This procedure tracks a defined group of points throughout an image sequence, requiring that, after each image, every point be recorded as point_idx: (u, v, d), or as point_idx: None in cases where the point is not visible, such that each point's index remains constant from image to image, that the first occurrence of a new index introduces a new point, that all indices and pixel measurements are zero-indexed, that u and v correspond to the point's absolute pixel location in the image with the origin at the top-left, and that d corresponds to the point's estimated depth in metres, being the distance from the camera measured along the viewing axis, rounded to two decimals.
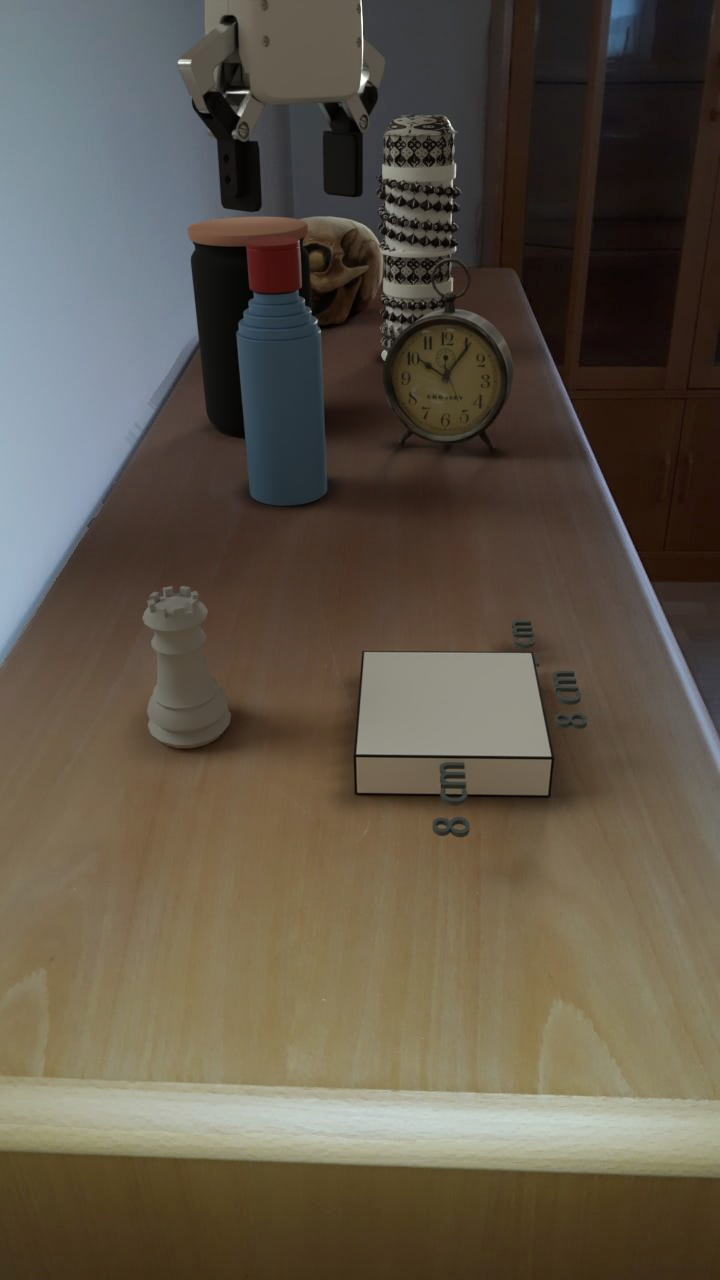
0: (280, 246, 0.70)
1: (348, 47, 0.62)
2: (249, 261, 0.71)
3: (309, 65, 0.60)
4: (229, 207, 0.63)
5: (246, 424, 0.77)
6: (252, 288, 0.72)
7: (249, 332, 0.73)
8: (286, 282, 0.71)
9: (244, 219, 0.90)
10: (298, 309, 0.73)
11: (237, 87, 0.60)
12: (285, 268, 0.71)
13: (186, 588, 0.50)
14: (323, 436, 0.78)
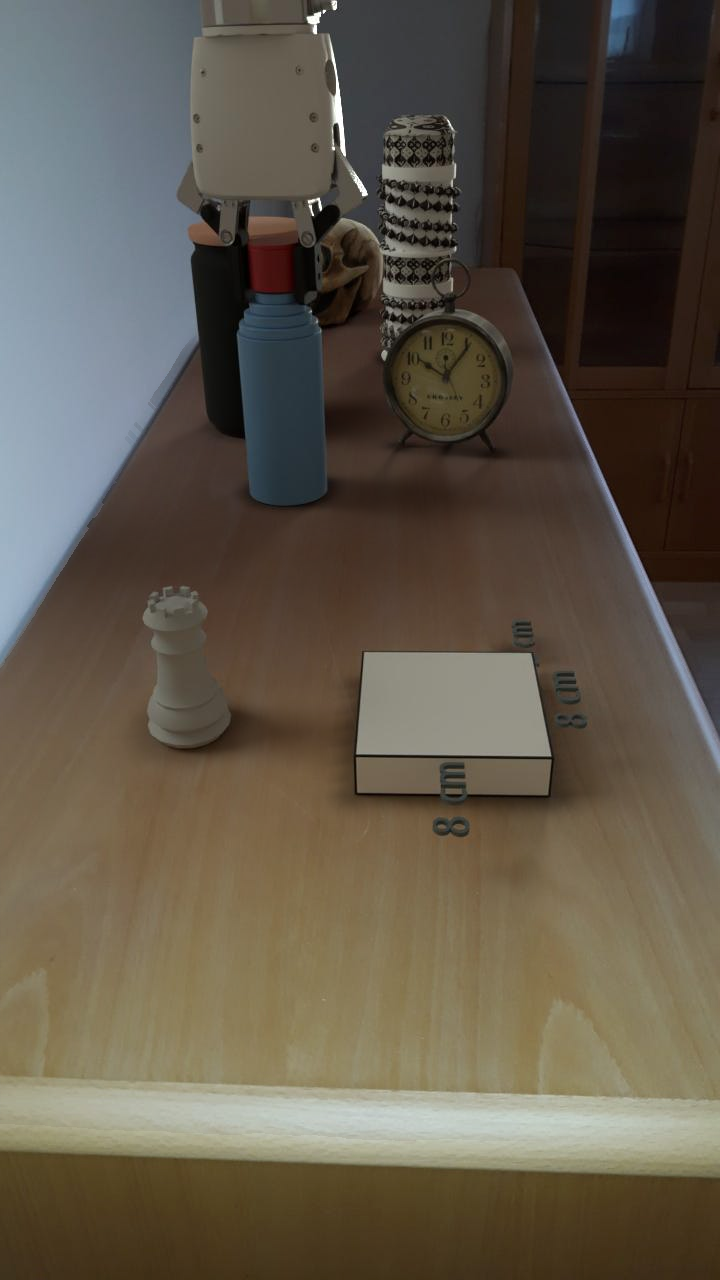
0: (281, 246, 0.70)
1: (298, 153, 0.66)
2: (250, 261, 0.71)
3: (248, 168, 0.67)
4: None
5: (246, 424, 0.77)
6: (253, 288, 0.72)
7: (249, 332, 0.73)
8: (287, 282, 0.71)
9: None
10: (299, 309, 0.73)
11: None
12: (286, 268, 0.71)
13: (186, 588, 0.50)
14: (323, 436, 0.78)
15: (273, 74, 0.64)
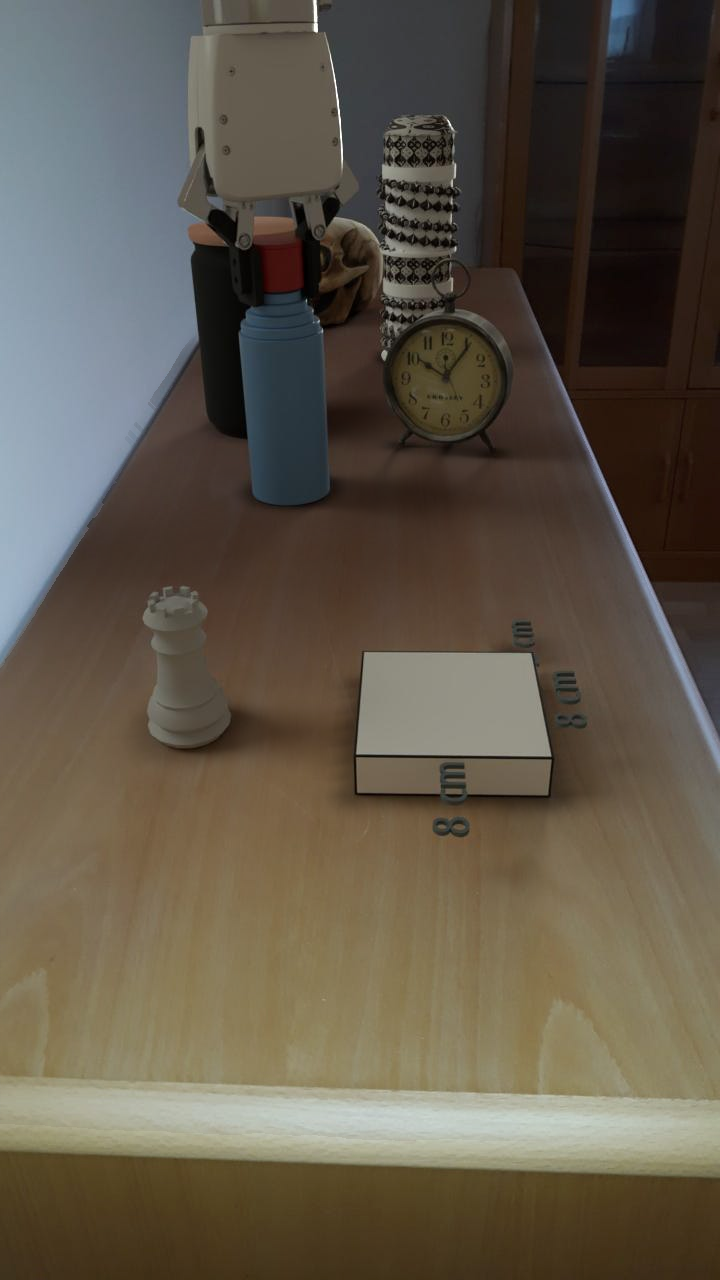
0: (298, 242, 0.71)
1: (322, 147, 0.68)
2: (266, 262, 0.70)
3: (276, 167, 0.67)
4: (242, 301, 0.73)
5: (251, 425, 0.77)
6: (270, 289, 0.71)
7: (255, 333, 0.72)
8: (302, 278, 0.72)
9: None
10: (302, 308, 0.73)
11: (230, 200, 0.69)
12: (301, 264, 0.72)
13: (186, 588, 0.50)
14: (326, 434, 0.79)
15: (301, 71, 0.65)
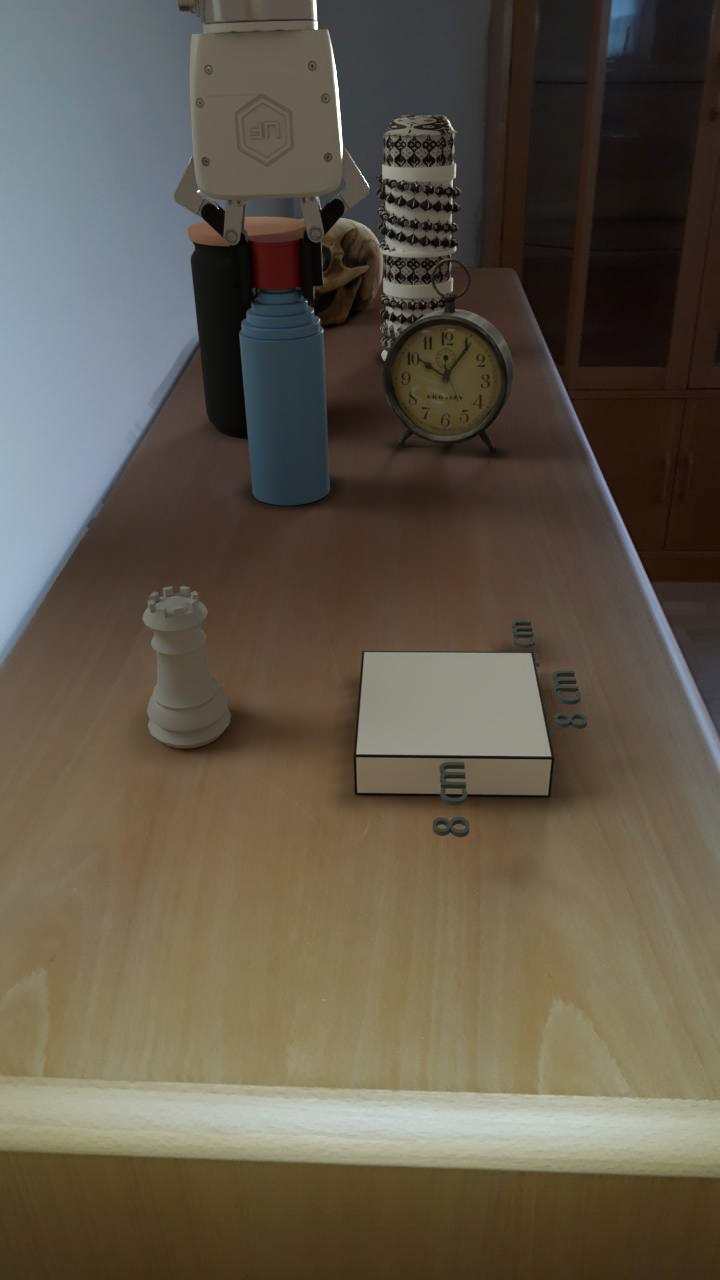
0: (262, 235, 0.73)
1: None
2: None
3: None
4: None
5: (251, 425, 0.77)
6: None
7: (255, 333, 0.72)
8: None
9: None
10: (303, 308, 0.73)
11: None
12: None
13: (186, 588, 0.50)
14: (327, 434, 0.79)
15: None
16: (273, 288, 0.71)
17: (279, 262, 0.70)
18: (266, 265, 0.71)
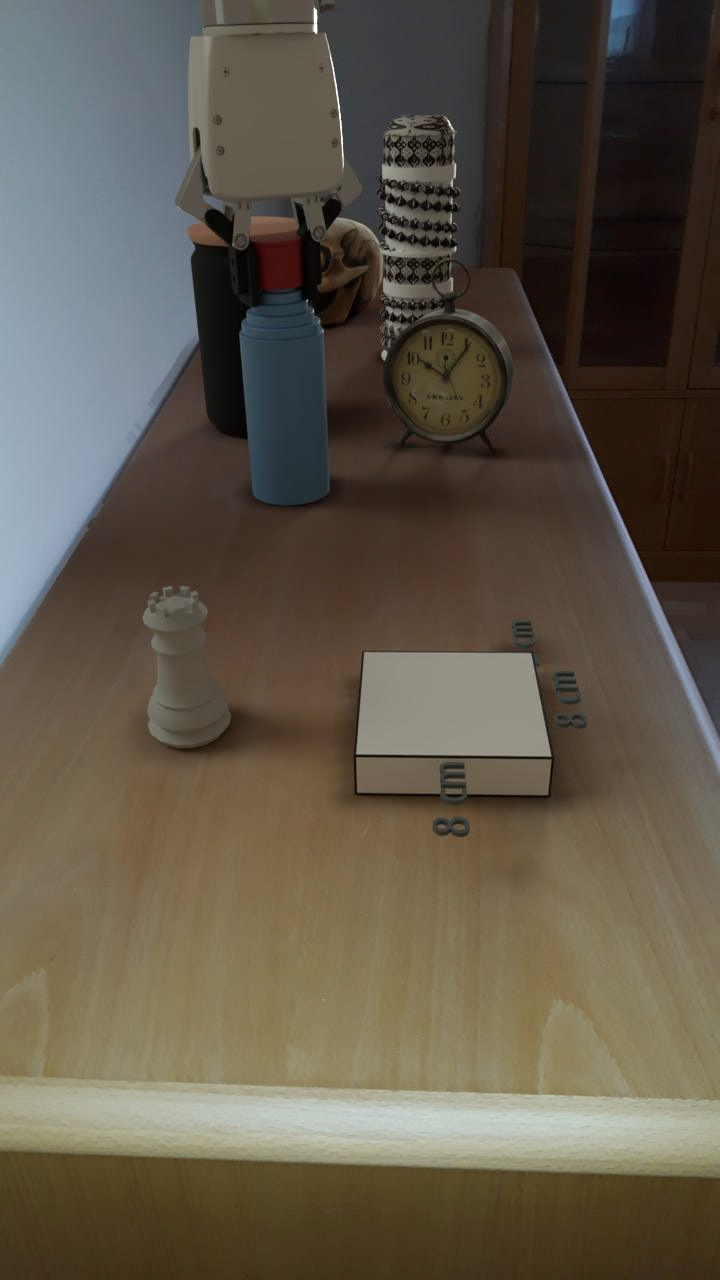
0: (296, 240, 0.70)
1: (320, 148, 0.68)
2: (262, 260, 0.70)
3: (271, 167, 0.67)
4: (242, 300, 0.73)
5: (251, 425, 0.77)
6: (266, 287, 0.71)
7: (256, 333, 0.72)
8: (300, 276, 0.72)
9: None
10: (303, 308, 0.73)
11: None
12: (299, 262, 0.71)
13: (186, 588, 0.50)
14: (327, 434, 0.79)
15: (299, 72, 0.65)
16: None
17: None
18: None
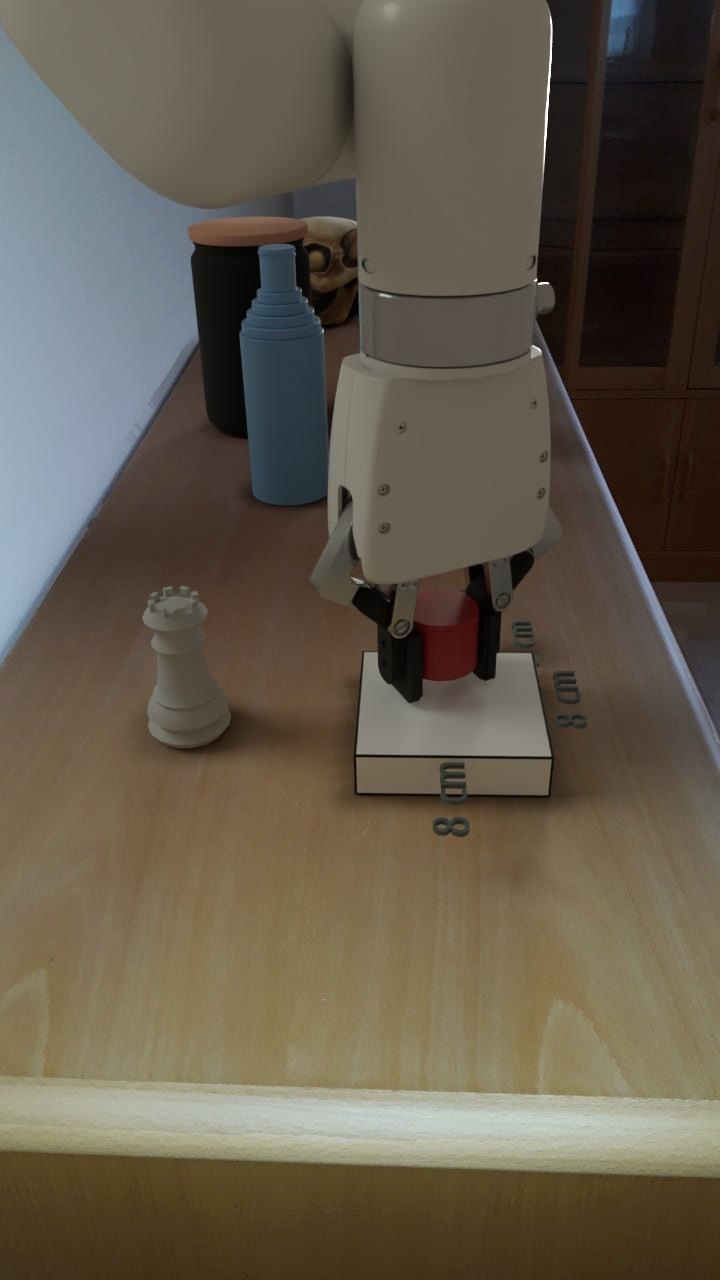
0: (475, 617, 0.49)
1: (522, 504, 0.46)
2: (427, 645, 0.49)
3: (454, 538, 0.45)
4: None
5: (251, 425, 0.77)
6: (430, 677, 0.50)
7: (256, 333, 0.72)
8: (476, 656, 0.50)
9: (244, 219, 0.90)
10: (303, 308, 0.73)
11: None
12: (476, 640, 0.50)
13: (186, 588, 0.50)
14: (327, 434, 0.79)
15: (504, 414, 0.43)
16: None
17: None
18: None
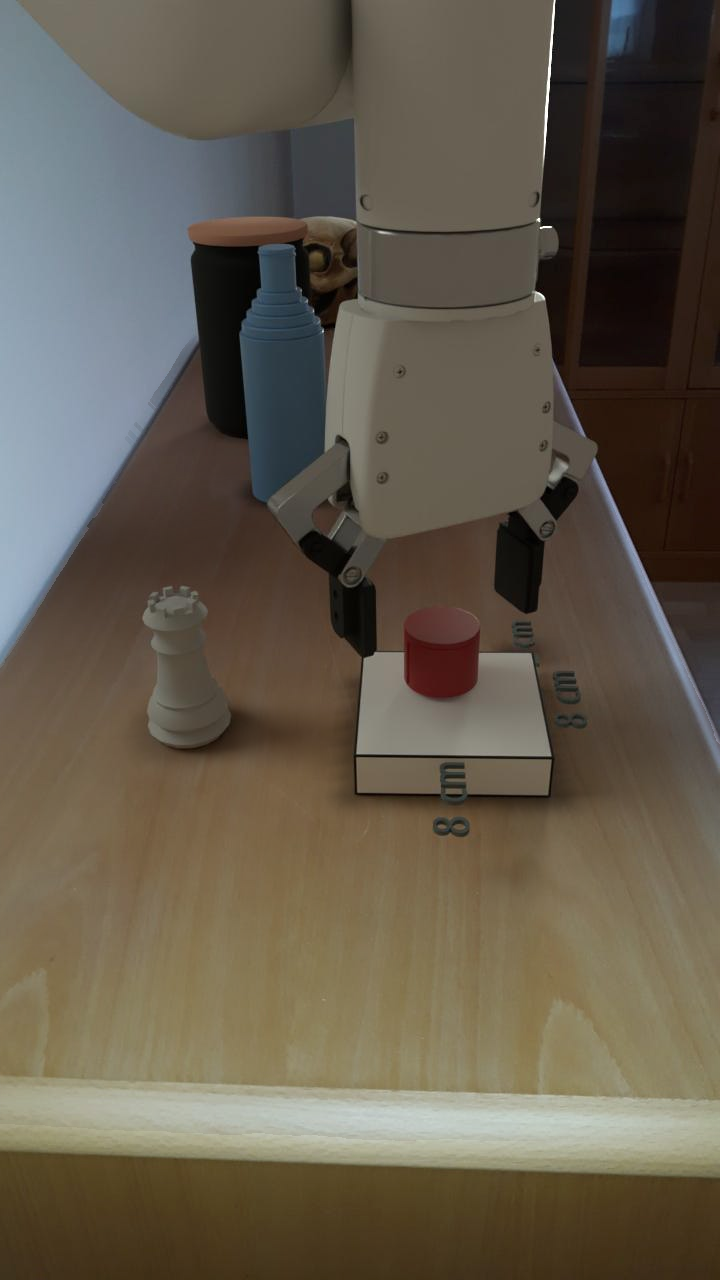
0: (476, 635, 0.49)
1: (524, 457, 0.45)
2: (429, 663, 0.49)
3: (454, 491, 0.44)
4: None
5: (251, 425, 0.77)
6: (431, 694, 0.50)
7: (256, 333, 0.72)
8: (476, 673, 0.51)
9: (244, 219, 0.90)
10: (303, 308, 0.73)
11: (356, 513, 0.45)
12: (477, 658, 0.50)
13: (186, 588, 0.50)
14: None
15: (506, 361, 0.42)
16: None
17: None
18: None
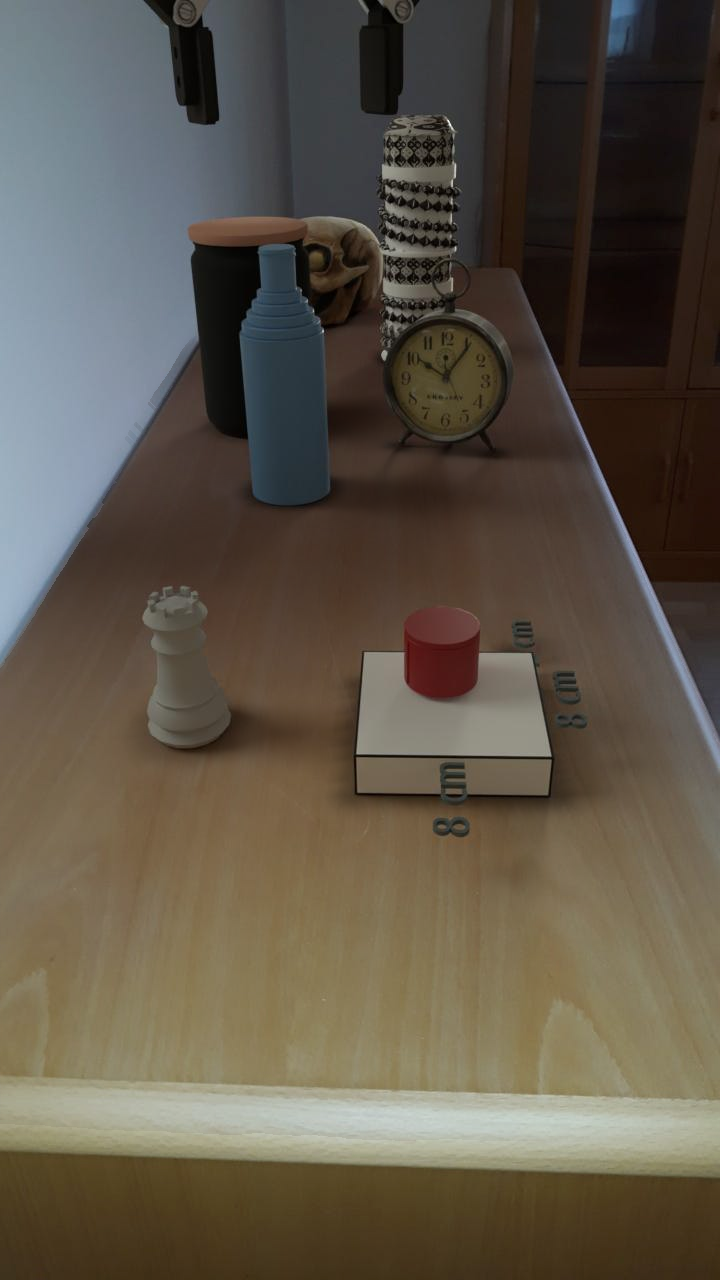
0: (476, 635, 0.49)
1: None
2: (429, 663, 0.49)
3: None
4: (191, 120, 0.49)
5: (251, 425, 0.77)
6: (431, 694, 0.50)
7: (256, 333, 0.72)
8: (476, 673, 0.51)
9: (244, 219, 0.90)
10: (303, 308, 0.73)
11: None
12: (477, 658, 0.50)
13: (186, 588, 0.50)
14: (327, 434, 0.79)
15: None
16: None
17: None
18: None
